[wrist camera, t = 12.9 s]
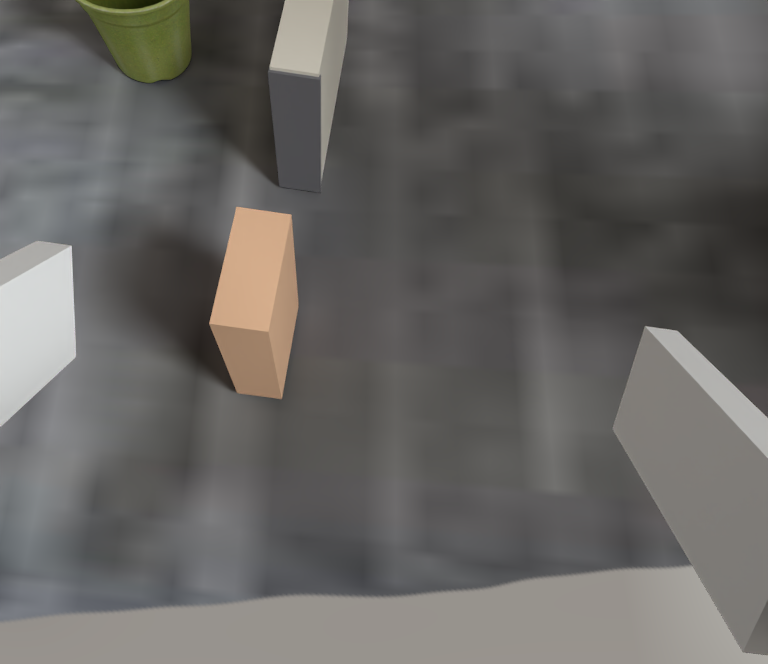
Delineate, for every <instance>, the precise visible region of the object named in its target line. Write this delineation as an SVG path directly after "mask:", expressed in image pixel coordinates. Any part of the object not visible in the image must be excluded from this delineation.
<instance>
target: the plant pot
mask: <svg viewBox="0 0 768 664" xmlns="http://www.w3.org/2000/svg"><path fill="white" fill-rule="evenodd" d="M75 1H77V2H78V3H79V4H80V5H81V7H82V8H83V9H84V10H85V11H86V12H87V13H88V14H89V16H90V18H91V19H92V21H93V23H94V24H95V26H96V28H97V29H98V31H99V33H100V35H101V36H102V38H103V40H104V42H105V43H106V45H107V47H108V49H109V51H110V52H111V54H112V56H113V58H114V60H115V61H116V63H117V65H118V66H119V68H120V69H121V70H122V72H123V73H125V74H126V75H127V76H129V77H130V78H132V79H134V80H137V81H140V82H145V83H153V82H155V81H158V80H170V79H173V78H175V77H177V76H178V75H180V74H181V73H182V72H183V71H184V70H185V69H186V68H187V66H188V65H189V63H190V60H191V36H190V15H189V0H75Z"/></svg>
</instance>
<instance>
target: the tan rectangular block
mask: <svg viewBox="0 0 768 664" xmlns="http://www.w3.org/2000/svg"><path fill="white" fill-rule="evenodd" d="M298 306H299V305H298V292H297V279H296V267H295V254H294V242H293V229H292V216H291V215H290V214H283V213H276V212H269V211H262V210H255V209H248V208H242V207H236V212H235V216H234V220H233V224H232V229H231V233H230V237H229V241H228V246H227V250H226V254H225V258H224V263H223V267H222V271H221V276H220V280H219V284H218V288H217V293H216V297H215V301H214V305H213V310H212V314H211V318H210V322H209V325H210V327H211V329H212V332H213V334H214V337H215V339H216V342H217V344H218V347H219V349H220V352H221V354H222V357H223V359H224V362H225V364H226V366H227V369H228V371H229V374H230V376H231V379H232V381H233V384H234V386H235V389H236V391H237V393H240V394H248V395H255V396H263V397H270V398H278V399H282V395H283V389H284V384H285V378H286V373H287V367H288V361H289V356H290V350H291V345H292V339H293V334H294V328H295V323H296V317H297V311H298Z"/></svg>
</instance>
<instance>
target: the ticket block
mask: <svg viewBox="0 0 768 664" xmlns="http://www.w3.org/2000/svg"><path fill="white" fill-rule="evenodd" d="M348 6H349V0H285V3H284V7H283V12H282V16H281V20H280V24H279V29H278V33H277V37H276V41H275V46H274V50H273V54H272V58H271V63H270V67H269V68H268V80H269V90H270V100H271V110H272V119H273V129H274V139H275V149H276V158H277V168H278V178H279V187H285V188H292V189H299V190H305V191H312V192H319V193H321V182H322V176H323V171H324V165H325V159H326V154H327V148H328V143H329V137H330V131H331V126H332V120H333V115H334V109H335V104H336V98H337V92H338V87H339V81H340V76H341V70H342V65H343V59H344V53H345V48H346V42H347V29H348Z"/></svg>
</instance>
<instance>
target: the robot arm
mask: <svg viewBox="0 0 768 664" xmlns="http://www.w3.org/2000/svg"><path fill="white" fill-rule="evenodd" d="M75 357H76V343H75V318H74V294H73V269H72V246H70V245H63V244H56V243H49V242H42V241H36V242H34V243H32V244H30V245H28V246H26V247H24V248H22V249H20V250H18V251H16V252H14V253H12V254H10V255H8V256H6V257H4V258H2V259H0V427H1V426H2V425H3V424H4V423H5V422H6V421H7V420H8V419H9V418H11V417H12V416H13V415H14V414H15V413H16V412H17V411H18V410H19V409H20V408H21V407H22V406H24V405H25V404H26V403H27V402H28V401H29V400H30V399H31V398H32V397H33V396H34V395H35V394H36V393H38V392H39V391H40V390H41V389H42V388H43V387H44V386H45V385H46V384H47V383H48V382H49V381H51V380H52V379H53V378H54V377H55V376H56V375H57V374H58V373H59V372H60V371H61V370H62V369H63V368H65V367H66V366H67V365H68V364H69V363H70V362H71V361H72V360H73V359H74V358H75ZM613 431H614V432H615V434H616V436H617V437H618V439H619V441H620V443H621V444H622V446H623V448H624V449H625V451H626V453H627V455H628V456H629V458H630V460H631V461H632V463H633V465H634V467H635V468H636V470H637V472H638V473H639V475H640V477H641V479H642V480H643V482H644V484H645V485H646V487H647V489H648V491H649V492H650V494H651V496H652V497H653V499H654V501H655V503H656V504H657V506H658V508H659V509H660V511H661V513H662V515H663V516H664V518H665V520H666V521H667V523H668V525H669V527H670V528H671V530H672V532H673V533H674V535H675V537H676V539H677V540H678V542H679V544H680V545H681V547H682V549H683V551H684V552H685V554H686V556H687V557H688V559H689V561H690V563H691V564H692V566H693V568H694V569H695V571H696V573H697V574H698V576H699V578H700V580H701V581H702V583H703V585H704V587H705V588H706V590H707V592H708V593H709V595H710V596H711V599H712V600H713V602H714V604H715V605H716V607H717V609H718V610H719V612H720V614H721V616H722V617H723V619H724V621H725V622H726V624H727V626H728V628H729V629H730V631H731V633H732V635H733V636H734V638H735V640H736V641H737V643H738V645H739V647H740V648H741V650H742V652H745V653H753V654H761V655H768V418H767V417H766V416H765V415H764V414H763V413H762V412H761V411H760V410H759V409H758V408H757V407H756V406H755V405H754V404H753V403H751V402H750V401H749V400H748V399H747V398H746V397H745V396H744V395H743V394H742V393H741V392H740V391H739V390H738V389H737V388H736V387H735V386H734V385H733V384H732V383H731V382H730V381H729V380H728V379H727V378H726V377H725V376H724V375H723V374H722V373H720V372H719V371H718V370H717V369H716V368H715V367H714V366H713V365H712V364H711V363H710V362H709V361H708V360H707V359H706V358H705V357H704V356H703V355H702V354H701V353H700V352H699V351H698V350H697V349H696V348H695V347H694V346H693V345H692V344H691V343H689V342H688V341H687V340H686V339H685V338H684V337H683V336H682V335H681V334H680V333H679V332H678V331H676V330H668V329H661V328H654V327H647V326H645V328H644V331H643V334H642V337H641V340H640V344H639V347H638V350H637V353H636V356H635V359H634V363H633V366H632V369H631V372H630V375H629V378H628V381H627V385H626V388H625V391H624V394H623V397H622V400H621V404H620V407H619V410H618V413H617V416H616V419H615V423H614V426H613Z"/></svg>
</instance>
